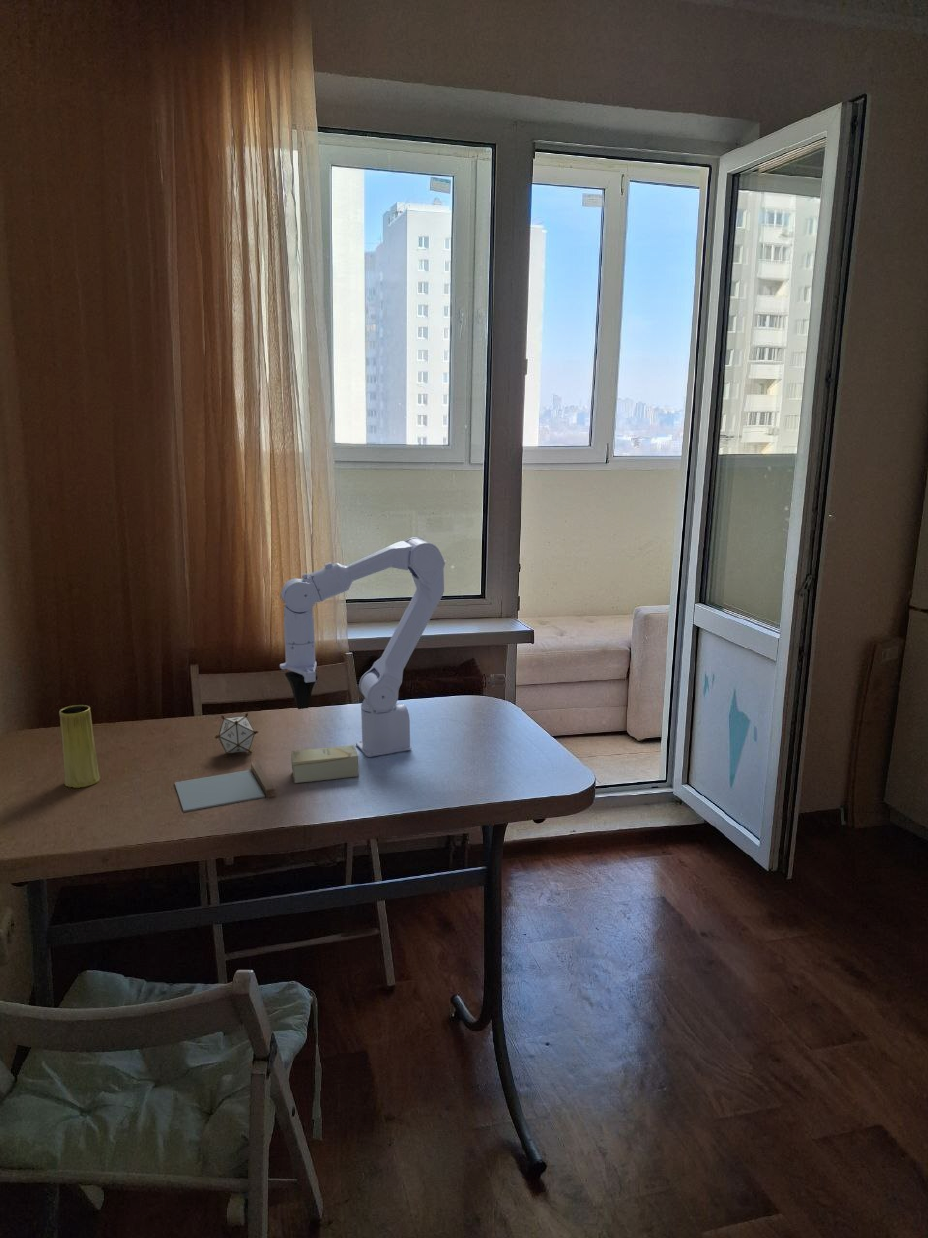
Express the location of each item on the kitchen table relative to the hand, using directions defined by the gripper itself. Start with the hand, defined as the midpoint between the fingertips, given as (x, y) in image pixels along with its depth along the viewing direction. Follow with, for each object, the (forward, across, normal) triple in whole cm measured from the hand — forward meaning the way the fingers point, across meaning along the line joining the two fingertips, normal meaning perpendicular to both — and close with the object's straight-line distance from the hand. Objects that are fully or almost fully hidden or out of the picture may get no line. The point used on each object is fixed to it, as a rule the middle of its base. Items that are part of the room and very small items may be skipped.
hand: (302, 707), depth 171 cm
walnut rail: (+10, +9, -10) cm, 17 cm away
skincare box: (+8, +9, -5) cm, 13 cm away
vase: (+11, -6, -41) cm, 43 cm away
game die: (+11, -8, -12) cm, 18 cm away
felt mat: (+10, +9, -18) cm, 23 cm away
